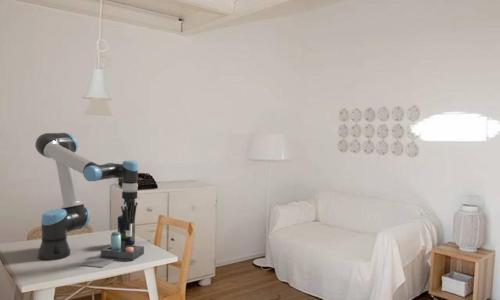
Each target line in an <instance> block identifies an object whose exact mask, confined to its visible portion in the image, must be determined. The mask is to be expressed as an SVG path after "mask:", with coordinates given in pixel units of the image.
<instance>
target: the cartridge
mask: <svg viewBox="0 0 500 300" xmlns="http://www.w3.org/2000/svg"><path fill="white" fill-rule="evenodd" d="M110 245H111V249H113V250H119V249H121V234H120V232H118V231H113V232H111V234H110Z"/></svg>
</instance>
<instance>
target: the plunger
mask: <svg viewBox="0 0 500 300" xmlns="http://www.w3.org/2000/svg"><path fill="white" fill-rule="evenodd" d="M126 251H128V252H132V251H134V247H127V248H126Z"/></svg>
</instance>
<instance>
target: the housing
mask: <svg viewBox="0 0 500 300" xmlns="http://www.w3.org/2000/svg"><path fill="white" fill-rule="evenodd" d="M127 247H134V251H132V252H128V251H126V248H127ZM144 254H145V246H144V245H143V246H142V245H121V249H119V250H113V249H111V244H110V245H108V246H107V247H104V248H102V249H101V250H100V258H109V259H116V260H120V261H122V260H123V261H131V262H133V261H135V260H137V259H139V258H140V257H141V256H143V255H144Z"/></svg>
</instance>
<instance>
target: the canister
mask: <svg viewBox="0 0 500 300" xmlns="http://www.w3.org/2000/svg"><path fill="white" fill-rule="evenodd" d="M133 222H134V223H132V236H131V237H128V236H126V224H124V223H123V215H122V214H121V215H119V216H118V217H117V232H120V234H121V245H133V246H135V242H136V220H135V221H133Z"/></svg>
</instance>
